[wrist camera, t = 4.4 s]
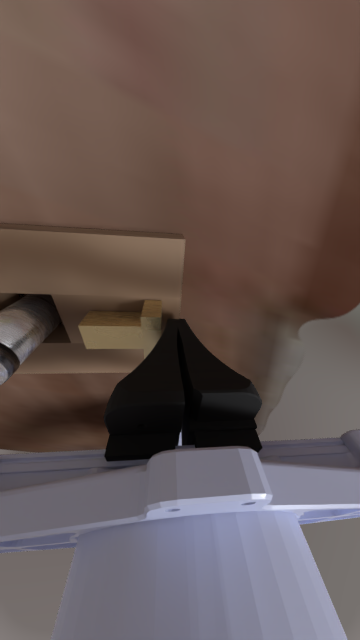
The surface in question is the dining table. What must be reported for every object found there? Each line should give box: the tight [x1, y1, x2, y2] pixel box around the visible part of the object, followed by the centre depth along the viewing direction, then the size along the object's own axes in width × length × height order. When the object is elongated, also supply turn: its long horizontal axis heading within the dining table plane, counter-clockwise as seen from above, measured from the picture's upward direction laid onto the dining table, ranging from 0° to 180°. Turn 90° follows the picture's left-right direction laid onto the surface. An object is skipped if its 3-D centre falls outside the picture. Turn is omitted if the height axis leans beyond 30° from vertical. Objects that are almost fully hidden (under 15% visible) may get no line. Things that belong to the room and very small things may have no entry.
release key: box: [78, 300, 162, 359], centre depth 12 cm, size 4×5×2 cm
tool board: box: [0, 223, 185, 374], centre depth 13 cm, size 12×24×2 cm, turn 87°
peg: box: [0, 294, 62, 385], centre depth 11 cm, size 3×3×7 cm
